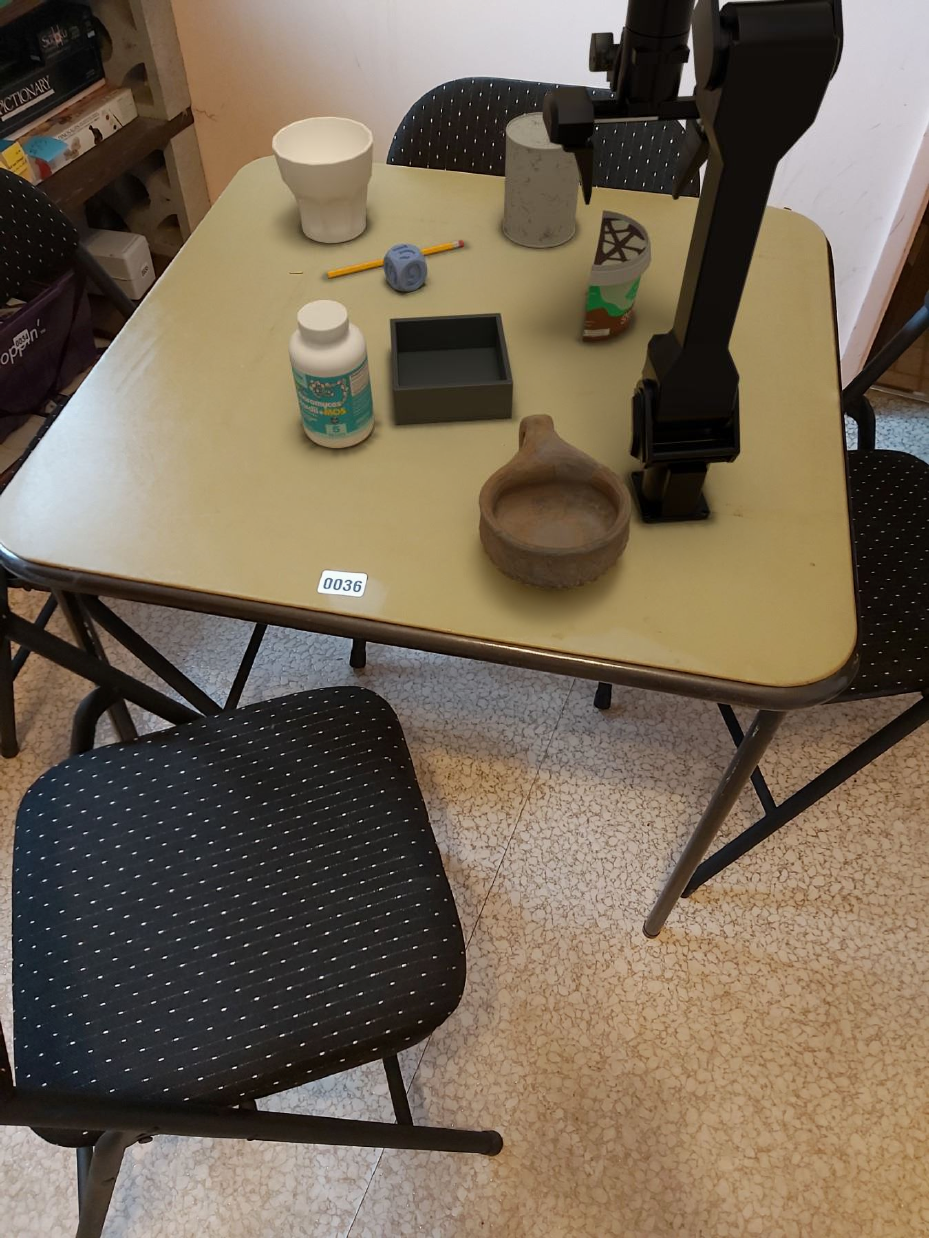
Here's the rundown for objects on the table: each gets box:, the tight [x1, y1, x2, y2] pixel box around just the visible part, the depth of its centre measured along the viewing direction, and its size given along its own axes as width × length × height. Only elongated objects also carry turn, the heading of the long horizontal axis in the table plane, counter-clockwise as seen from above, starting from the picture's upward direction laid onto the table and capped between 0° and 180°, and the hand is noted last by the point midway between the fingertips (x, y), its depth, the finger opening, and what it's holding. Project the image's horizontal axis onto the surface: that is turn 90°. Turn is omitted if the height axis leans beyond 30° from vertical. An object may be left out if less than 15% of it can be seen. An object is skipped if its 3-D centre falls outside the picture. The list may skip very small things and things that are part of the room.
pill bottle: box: [288, 299, 375, 449], centre depth 82 cm, size 8×7×14 cm
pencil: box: [326, 239, 465, 280], centre depth 106 cm, size 1×18×1 cm, turn 113°
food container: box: [582, 209, 652, 343], centre depth 95 cm, size 12×6×10 cm, turn 168°
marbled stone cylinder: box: [502, 111, 580, 249], centre depth 106 cm, size 10×10×12 cm
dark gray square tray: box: [389, 312, 514, 426], centre depth 90 cm, size 12×12×4 cm
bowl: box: [478, 413, 633, 591], centre depth 75 cm, size 18×14×10 cm
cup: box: [271, 116, 374, 244], centre depth 107 cm, size 12×12×11 cm
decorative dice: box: [382, 243, 428, 293], centre depth 102 cm, size 4×4×4 cm
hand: (630, 200), depth 86 cm, fingers open, 9 cm apart
